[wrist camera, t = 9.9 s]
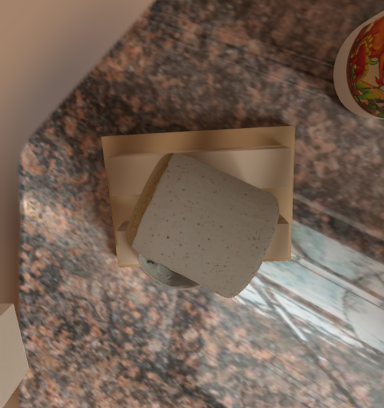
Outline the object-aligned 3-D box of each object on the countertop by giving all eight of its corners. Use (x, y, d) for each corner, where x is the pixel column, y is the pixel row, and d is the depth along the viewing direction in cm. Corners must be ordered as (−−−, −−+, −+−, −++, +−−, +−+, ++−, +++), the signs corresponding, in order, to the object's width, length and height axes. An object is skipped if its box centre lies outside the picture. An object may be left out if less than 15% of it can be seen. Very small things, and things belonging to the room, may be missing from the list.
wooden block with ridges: (289, 125, 26) (305, 126, 22) (286, 253, 29) (299, 273, 25) (106, 135, 27) (90, 138, 23) (122, 260, 30) (111, 281, 26)
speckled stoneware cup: (169, 140, 23) (154, 153, 15) (267, 184, 23) (297, 217, 16) (121, 257, 25) (88, 315, 18) (209, 293, 26) (211, 363, 19)
